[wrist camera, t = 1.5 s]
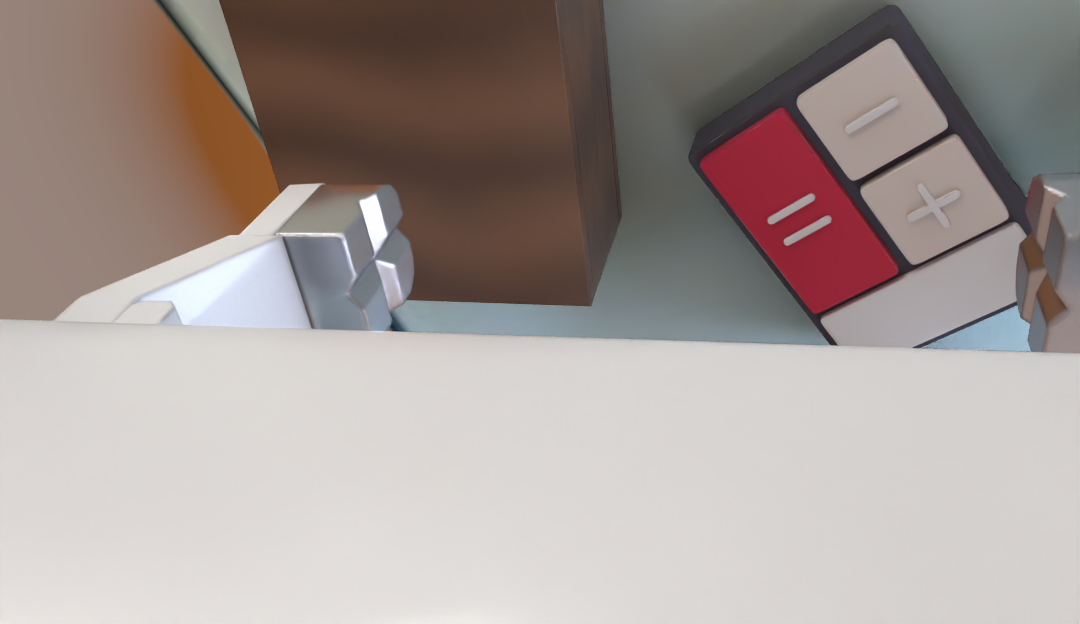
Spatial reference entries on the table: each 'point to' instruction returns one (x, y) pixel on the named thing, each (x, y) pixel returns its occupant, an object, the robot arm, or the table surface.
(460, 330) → the table surface
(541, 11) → the cabinet
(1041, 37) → the table surface
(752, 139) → the calculator
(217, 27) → the table surface
